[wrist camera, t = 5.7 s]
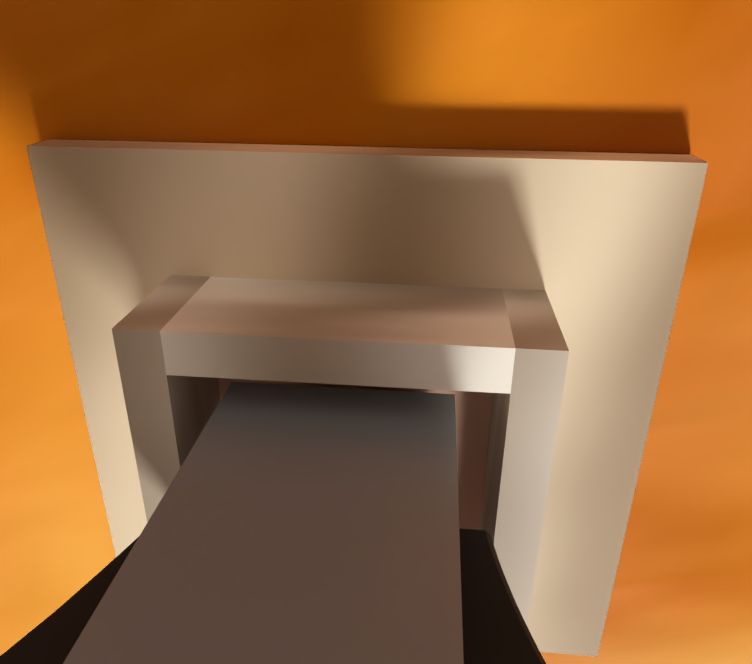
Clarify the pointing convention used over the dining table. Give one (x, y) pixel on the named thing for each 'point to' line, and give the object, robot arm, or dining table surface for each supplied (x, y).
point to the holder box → (386, 320)
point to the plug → (298, 538)
